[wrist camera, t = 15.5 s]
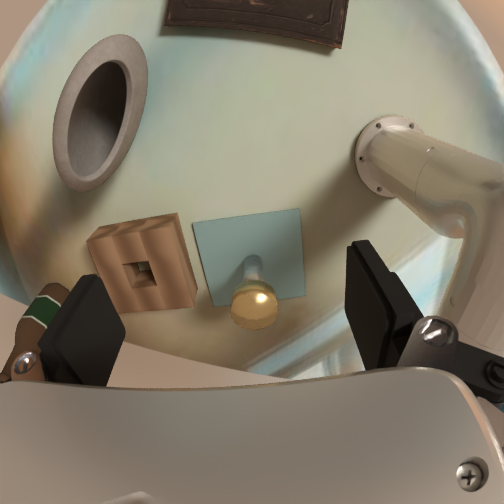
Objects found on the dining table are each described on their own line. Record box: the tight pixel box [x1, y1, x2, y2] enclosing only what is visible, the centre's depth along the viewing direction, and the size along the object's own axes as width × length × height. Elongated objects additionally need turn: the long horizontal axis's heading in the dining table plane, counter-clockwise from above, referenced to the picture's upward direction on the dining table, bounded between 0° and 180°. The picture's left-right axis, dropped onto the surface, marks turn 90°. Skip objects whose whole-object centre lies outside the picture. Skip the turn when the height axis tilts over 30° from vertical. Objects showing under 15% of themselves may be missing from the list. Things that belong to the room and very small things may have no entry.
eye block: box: [86, 213, 198, 313], centre depth 47 cm, size 14×14×5 cm
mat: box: [193, 209, 305, 307], centre depth 49 cm, size 16×16×1 cm
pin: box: [231, 255, 278, 330], centre depth 44 cm, size 6×6×12 cm
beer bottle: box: [0, 283, 70, 384], centre depth 43 cm, size 8×8×24 cm
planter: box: [53, 34, 148, 192], centre depth 29 cm, size 18×7×19 cm, turn 161°
